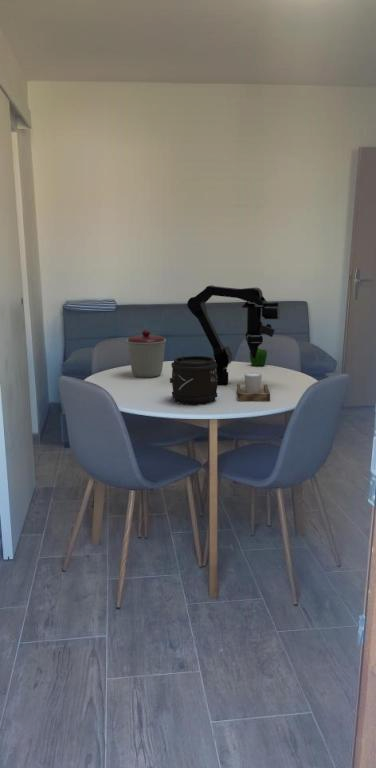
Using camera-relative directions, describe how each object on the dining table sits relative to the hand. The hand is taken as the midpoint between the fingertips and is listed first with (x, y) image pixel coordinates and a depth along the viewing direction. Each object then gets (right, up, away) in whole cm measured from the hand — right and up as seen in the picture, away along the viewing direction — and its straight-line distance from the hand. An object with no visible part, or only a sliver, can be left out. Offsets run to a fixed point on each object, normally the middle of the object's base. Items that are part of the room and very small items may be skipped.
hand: (253, 356), depth 245 cm
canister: (-46, -8, +25) cm, 53 cm away
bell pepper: (+7, -3, +45) cm, 46 cm away
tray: (-2, -16, -15) cm, 22 cm away
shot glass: (-2, -15, -13) cm, 20 cm away
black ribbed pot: (-25, -18, -19) cm, 36 cm away
